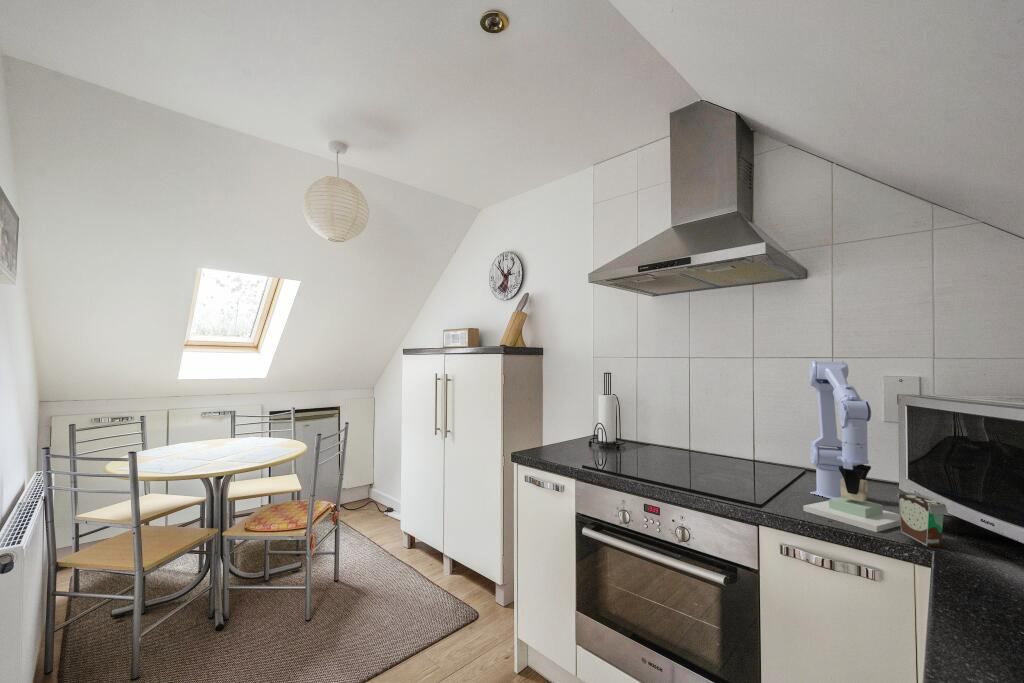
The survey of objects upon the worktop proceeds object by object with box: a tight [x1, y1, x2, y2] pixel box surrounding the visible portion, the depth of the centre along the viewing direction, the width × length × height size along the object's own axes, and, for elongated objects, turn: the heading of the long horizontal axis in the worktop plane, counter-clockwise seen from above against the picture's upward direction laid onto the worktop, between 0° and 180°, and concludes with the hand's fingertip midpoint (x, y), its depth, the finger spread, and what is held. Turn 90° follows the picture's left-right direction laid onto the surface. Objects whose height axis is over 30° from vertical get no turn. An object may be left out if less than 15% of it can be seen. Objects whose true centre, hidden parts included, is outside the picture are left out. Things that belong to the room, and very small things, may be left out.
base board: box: [802, 497, 901, 533], centre depth 126 cm, size 18×18×4 cm
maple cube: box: [841, 478, 868, 502], centre depth 126 cm, size 5×5×5 cm
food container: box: [896, 490, 948, 547], centre depth 110 cm, size 12×6×10 cm, turn 168°
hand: (855, 492), depth 126 cm, fingers closed on maple cube, 5 cm apart
